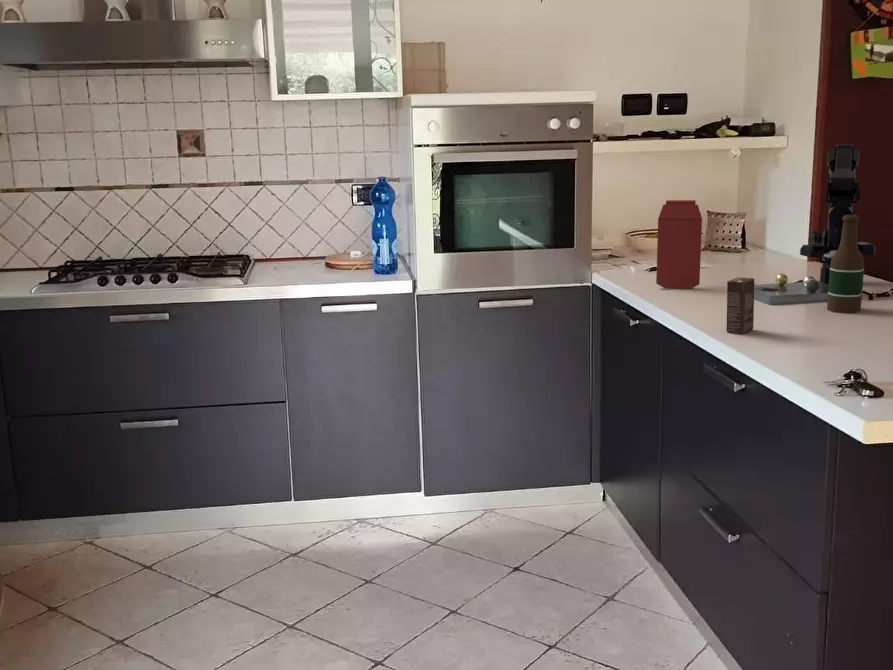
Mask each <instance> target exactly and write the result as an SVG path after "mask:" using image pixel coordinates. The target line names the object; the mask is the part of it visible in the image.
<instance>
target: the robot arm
mask: <svg viewBox="0 0 893 670" xmlns="http://www.w3.org/2000/svg"><path fill="white" fill-rule="evenodd" d="M860 150H861V149H859V148H857V147H855V145H854V144H848V143H847V144H836V145H834V146H833V148H830V149H828V150H827V158H826V159H827V160H826V167H827V166H829V169H828V173H829V175H830V179H829V180H826V181H827V182H826V195H825V203H826V204H829V206H828V216H827V217H828V218H827V219H828V220H827V226H825V227H824V229H823V232H821V233H820V232H819V231H818V230H814V231H810V232H808V233H809V235H808V243H809V244H803V245H802V246H801V247H800V249H799V255H800V256H804V257H808V258H813V259H814V258H819V263H820V264H822V267H821V268H820V276H819V280H818V281H819V282H822V283H825V284H829V273H830V264H831V260H832V257H833V255H834V254H835V252H836V251H837V250H838V249H839V246H840V242H841V236H842V229H843V222H844V221H843V220H842V219H843V216H845V215H854V214H853V205H852V204H858V201H860V200H861V184H860V181H859V180H857V176H856V175H857V174H856V169H857V168H856V166H859V163H860V152H861V151H860ZM857 243H858V249H859V251H860V252H861V254H862V255H864V256H868V255H869V256H870V255H872V256H873V255H875V254H876V247H875V245H874V244H873V243H871V242H866V241H857Z"/></svg>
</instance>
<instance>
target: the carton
mask: <svg viewBox="0 0 893 670" xmlns="http://www.w3.org/2000/svg"><path fill="white" fill-rule="evenodd" d="M696 203H697V202H696V199H666V201H665V204H663V205H662V207H661V209H660V212H659V215H658V218H657V246H656V249H657V250H656V276H655V277H656V278H655V279H656V280H655V283H656V284H655V285H658V286H659V287H661V288H664V289H681V290H683V289H684V290H686V289H688V290H692V289H693V288H695V287H698V286H699V285H700V281H701V280H700V279H701V278H700V277H701V256H702V255H701V254H702V233H703V231H702V230H703V218H702V214H701V211H700V207H699V204H696Z"/></svg>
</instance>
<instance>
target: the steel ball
mask: <svg viewBox="0 0 893 670" xmlns="http://www.w3.org/2000/svg"><path fill="white" fill-rule="evenodd" d="M810 280H816V278H815V277H814V276H812V275H807V276H805V277H804V278H803V280H802V282H803V285H804V286H805V287H807V283H808V282H809V281H810Z"/></svg>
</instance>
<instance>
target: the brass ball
mask: <svg viewBox="0 0 893 670" xmlns="http://www.w3.org/2000/svg"><path fill="white" fill-rule="evenodd" d="M788 280H789V279H788V276H787V274H785V273H779V274H777V275H776V276H775V284H778V285H784V284H786V283H788Z"/></svg>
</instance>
